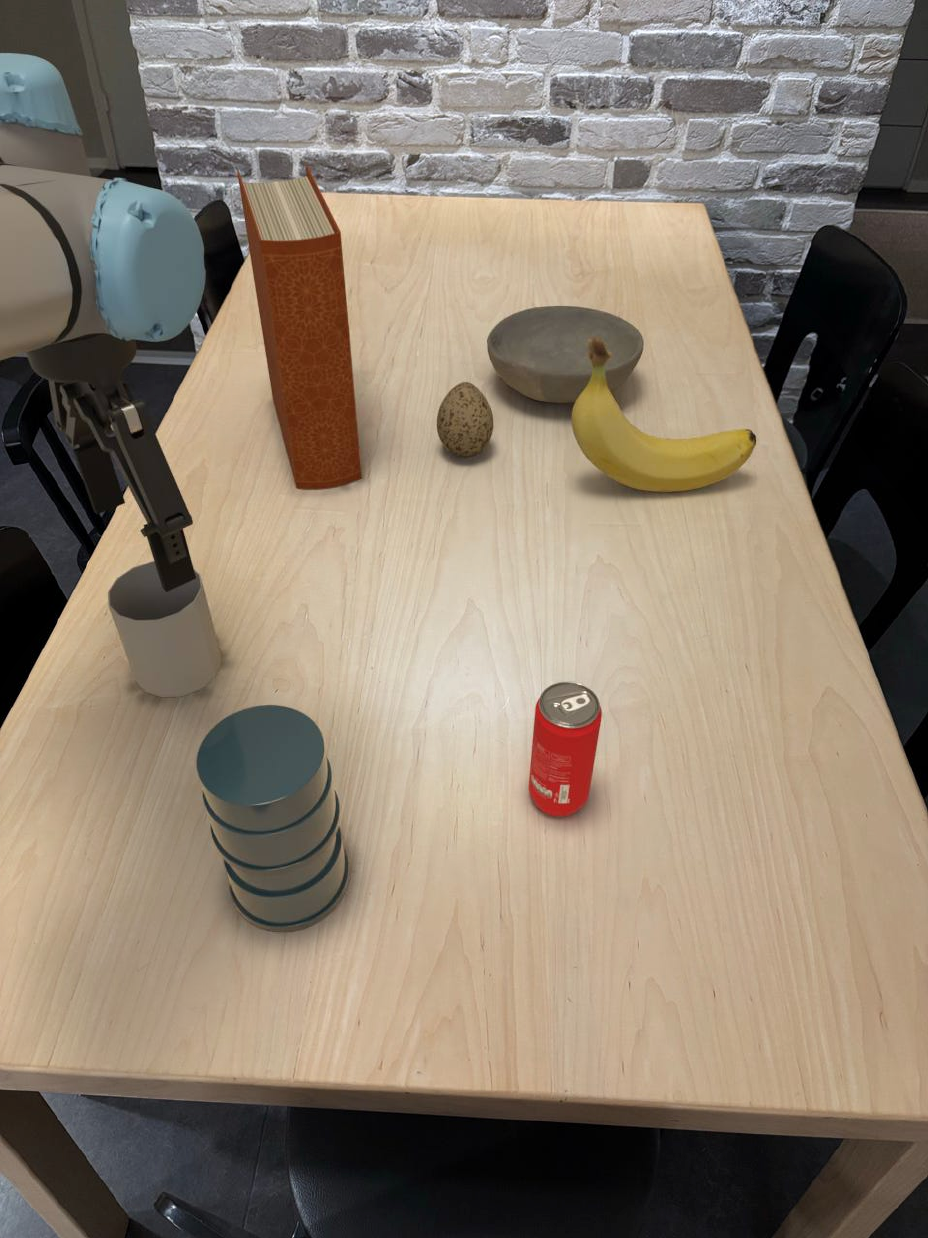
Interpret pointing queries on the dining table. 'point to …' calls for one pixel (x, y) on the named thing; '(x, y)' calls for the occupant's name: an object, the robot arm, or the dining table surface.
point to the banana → (649, 442)
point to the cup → (165, 632)
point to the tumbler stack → (274, 816)
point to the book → (304, 327)
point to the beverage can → (564, 747)
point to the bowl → (561, 350)
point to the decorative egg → (465, 420)
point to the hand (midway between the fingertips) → (143, 543)
